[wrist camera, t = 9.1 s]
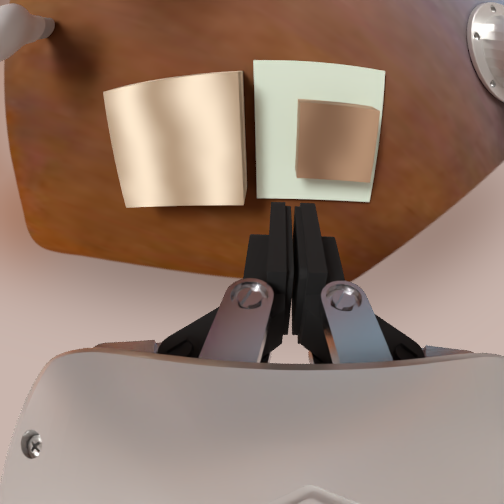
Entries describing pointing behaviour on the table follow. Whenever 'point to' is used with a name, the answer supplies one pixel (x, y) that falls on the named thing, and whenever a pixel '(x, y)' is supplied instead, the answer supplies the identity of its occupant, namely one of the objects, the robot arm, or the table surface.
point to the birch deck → (180, 140)
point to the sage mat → (285, 123)
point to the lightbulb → (20, 29)
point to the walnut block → (335, 140)
